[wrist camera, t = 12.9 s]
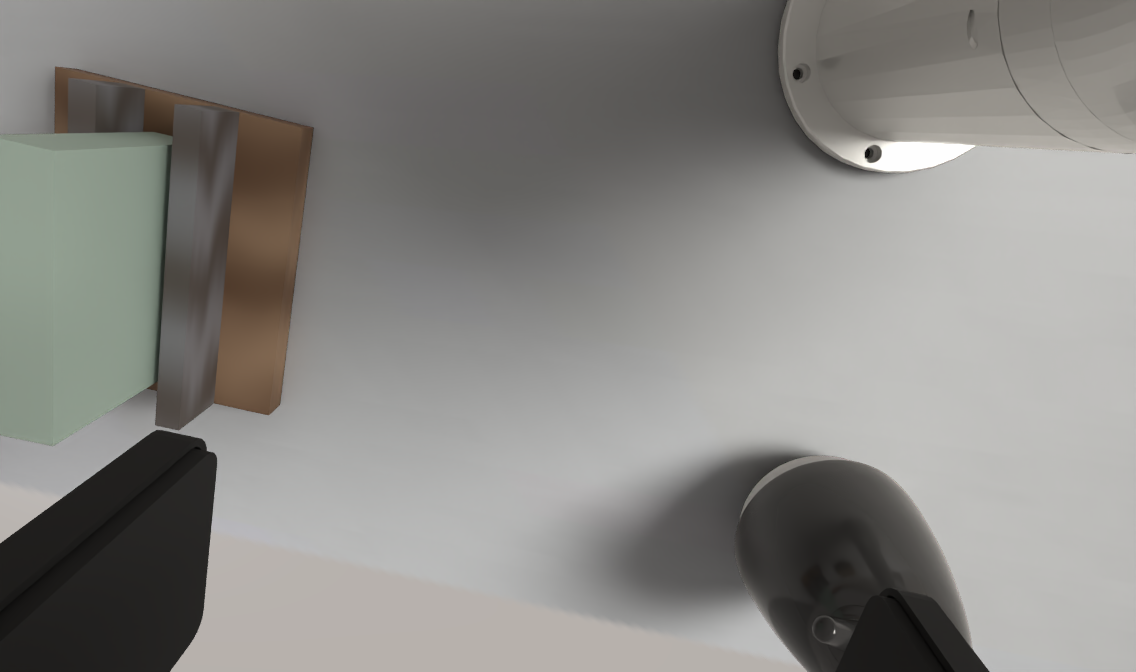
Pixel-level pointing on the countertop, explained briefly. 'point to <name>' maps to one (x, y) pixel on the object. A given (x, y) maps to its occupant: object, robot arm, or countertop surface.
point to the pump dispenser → (835, 553)
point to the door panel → (79, 276)
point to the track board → (212, 237)
